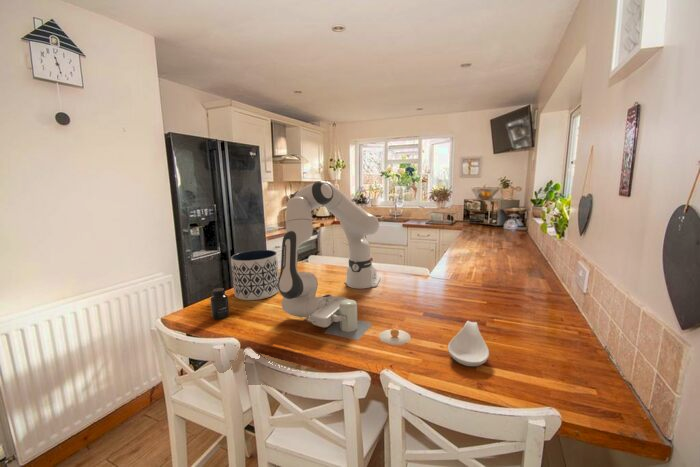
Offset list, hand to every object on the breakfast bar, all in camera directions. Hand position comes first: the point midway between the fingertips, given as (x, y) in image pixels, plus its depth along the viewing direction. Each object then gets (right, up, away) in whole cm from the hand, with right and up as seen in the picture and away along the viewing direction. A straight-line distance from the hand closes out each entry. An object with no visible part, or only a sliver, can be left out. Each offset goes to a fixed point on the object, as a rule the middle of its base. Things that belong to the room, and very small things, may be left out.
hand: (350, 314), depth 114 cm
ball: (+16, -6, -6) cm, 18 cm away
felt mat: (-1, -6, +1) cm, 6 cm away
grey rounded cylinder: (-1, -5, +1) cm, 6 cm away
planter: (-48, -1, +43) cm, 65 cm away
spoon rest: (+38, -8, -15) cm, 42 cm away
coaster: (+16, -7, -6) cm, 18 cm away
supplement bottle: (-55, -5, +16) cm, 58 cm away
